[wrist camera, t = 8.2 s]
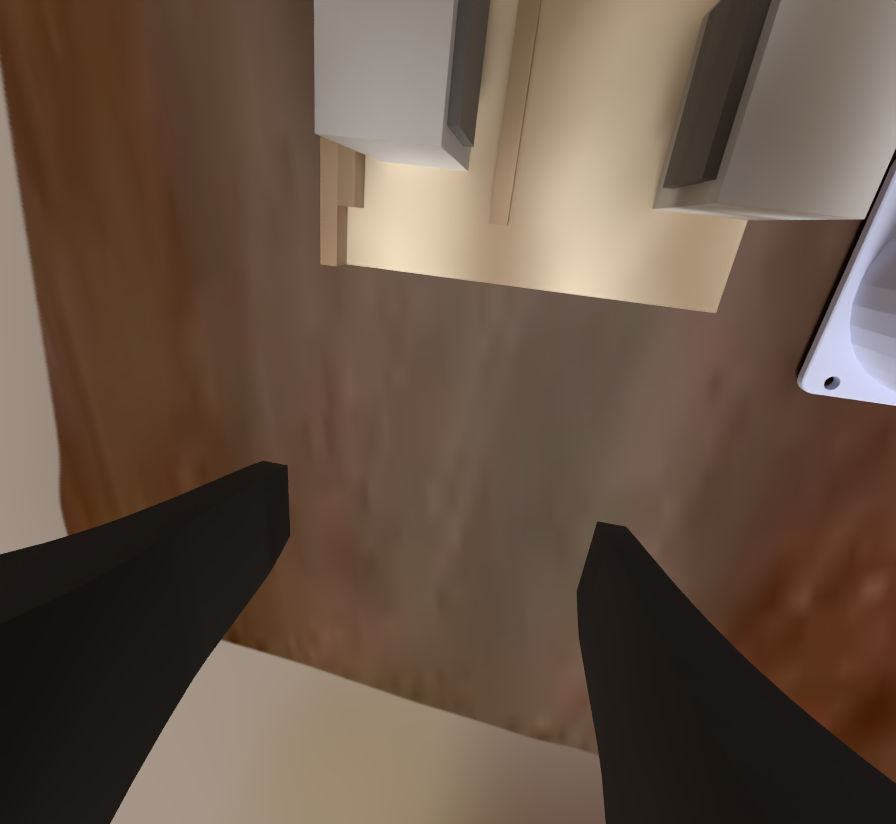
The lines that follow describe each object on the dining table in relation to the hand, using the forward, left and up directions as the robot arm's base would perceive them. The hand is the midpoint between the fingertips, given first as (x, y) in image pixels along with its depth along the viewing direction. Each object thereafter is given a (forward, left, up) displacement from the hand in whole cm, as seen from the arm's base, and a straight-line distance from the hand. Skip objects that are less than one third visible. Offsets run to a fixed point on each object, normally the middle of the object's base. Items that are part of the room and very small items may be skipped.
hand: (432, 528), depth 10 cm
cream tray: (-1, -10, -10) cm, 14 cm away
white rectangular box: (+3, -11, -9) cm, 14 cm away
